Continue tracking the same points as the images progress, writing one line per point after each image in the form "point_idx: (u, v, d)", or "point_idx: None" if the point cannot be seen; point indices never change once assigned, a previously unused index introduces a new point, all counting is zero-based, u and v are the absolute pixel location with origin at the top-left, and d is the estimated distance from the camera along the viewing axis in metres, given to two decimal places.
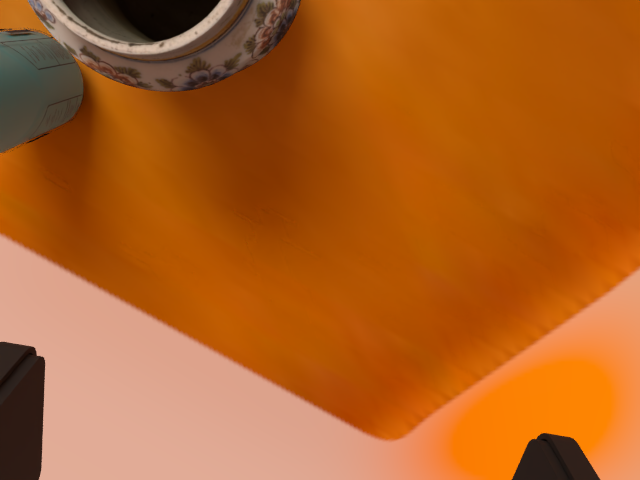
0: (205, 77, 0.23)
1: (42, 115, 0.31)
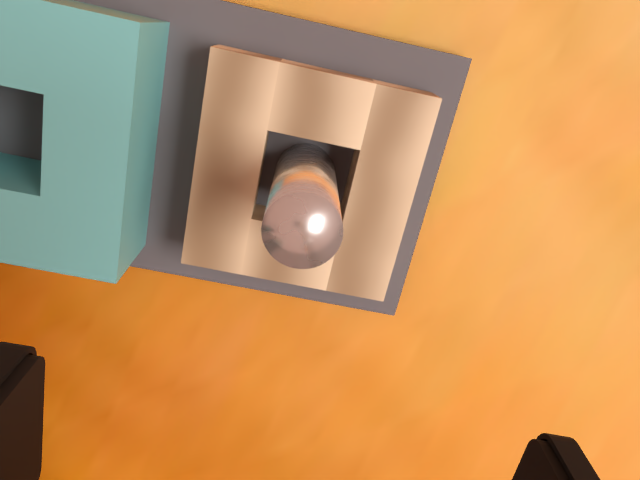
0: None
1: None
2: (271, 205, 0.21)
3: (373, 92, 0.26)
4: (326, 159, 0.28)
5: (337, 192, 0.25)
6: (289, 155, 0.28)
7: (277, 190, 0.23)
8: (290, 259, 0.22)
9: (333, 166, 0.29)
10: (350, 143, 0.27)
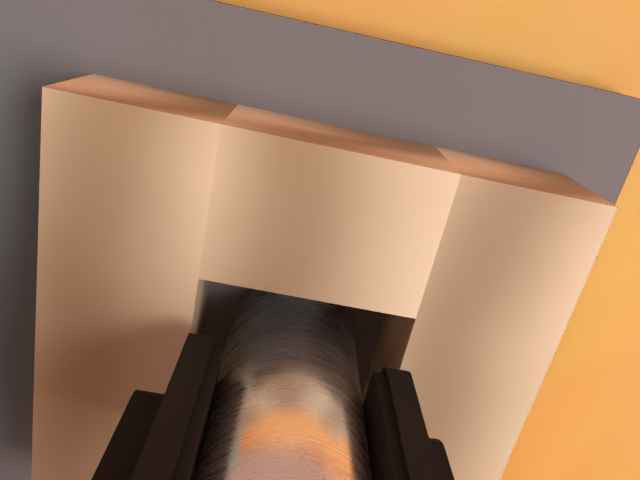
0: None
1: None
2: None
3: (452, 194, 0.11)
4: (336, 328, 0.13)
5: (369, 474, 0.09)
6: (253, 324, 0.12)
7: None
8: None
9: (351, 331, 0.14)
10: (393, 304, 0.12)
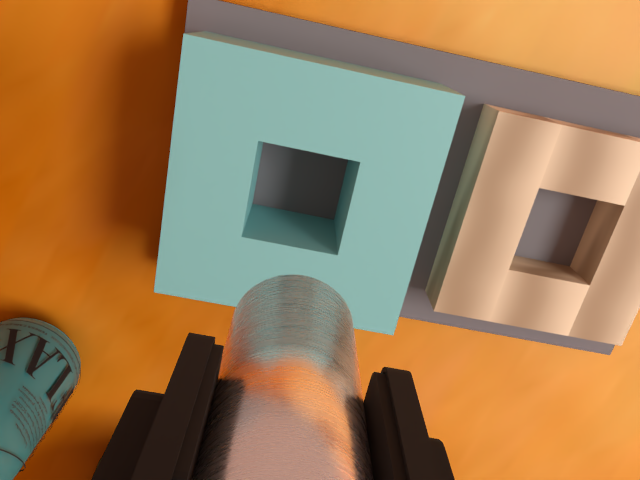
0: None
1: None
2: None
3: None
4: (337, 327, 0.12)
5: (370, 472, 0.09)
6: (254, 322, 0.12)
7: None
8: None
9: (351, 329, 0.13)
10: (616, 199, 0.28)
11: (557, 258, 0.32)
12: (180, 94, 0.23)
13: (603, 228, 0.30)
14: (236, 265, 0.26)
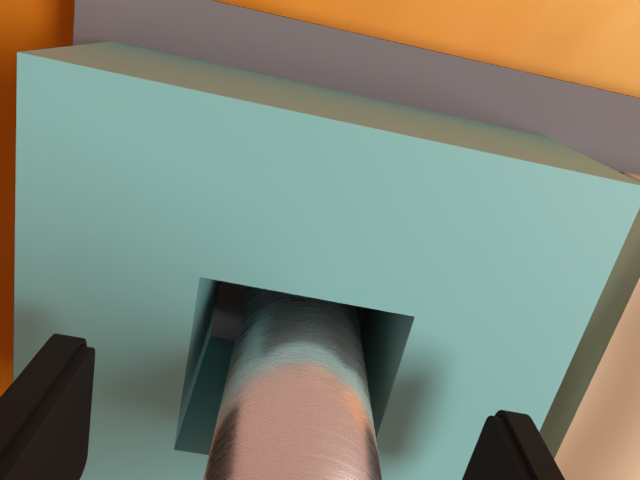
0: None
1: None
2: None
3: None
4: None
5: (366, 386, 0.12)
6: None
7: (233, 427, 0.10)
8: None
9: None
10: None
11: None
12: (24, 184, 0.11)
13: None
14: None
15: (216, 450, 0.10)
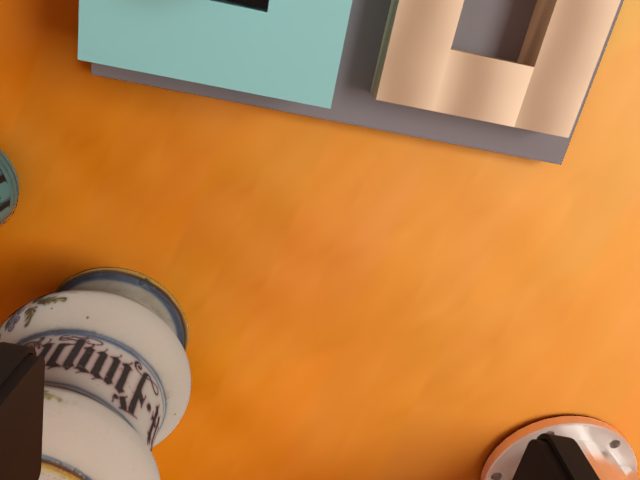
0: None
1: None
2: None
3: None
4: None
5: None
6: None
7: None
8: None
9: None
10: None
11: (504, 53, 0.31)
12: None
13: (547, 6, 0.29)
14: (162, 25, 0.25)
15: None
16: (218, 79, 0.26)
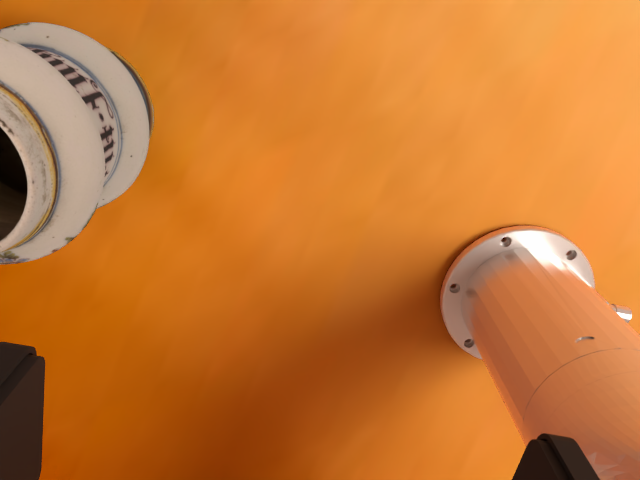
0: None
1: None
2: None
3: None
4: None
5: None
6: None
7: None
8: None
9: None
10: None
11: None
12: None
13: None
14: None
15: None
16: None
